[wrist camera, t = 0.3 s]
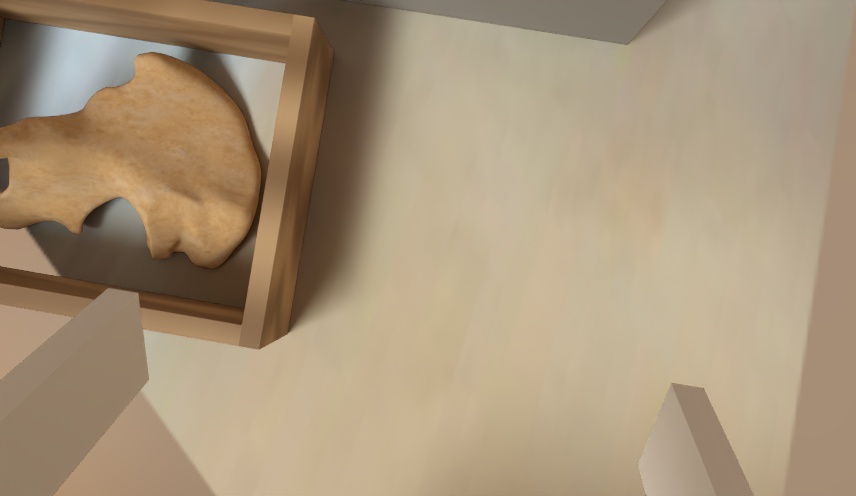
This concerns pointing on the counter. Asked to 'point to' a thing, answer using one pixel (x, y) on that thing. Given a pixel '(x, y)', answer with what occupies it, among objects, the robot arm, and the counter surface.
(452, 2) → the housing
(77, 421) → the robot arm
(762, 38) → the counter surface
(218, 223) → the bone
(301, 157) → the wooden tray
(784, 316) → the counter surface
